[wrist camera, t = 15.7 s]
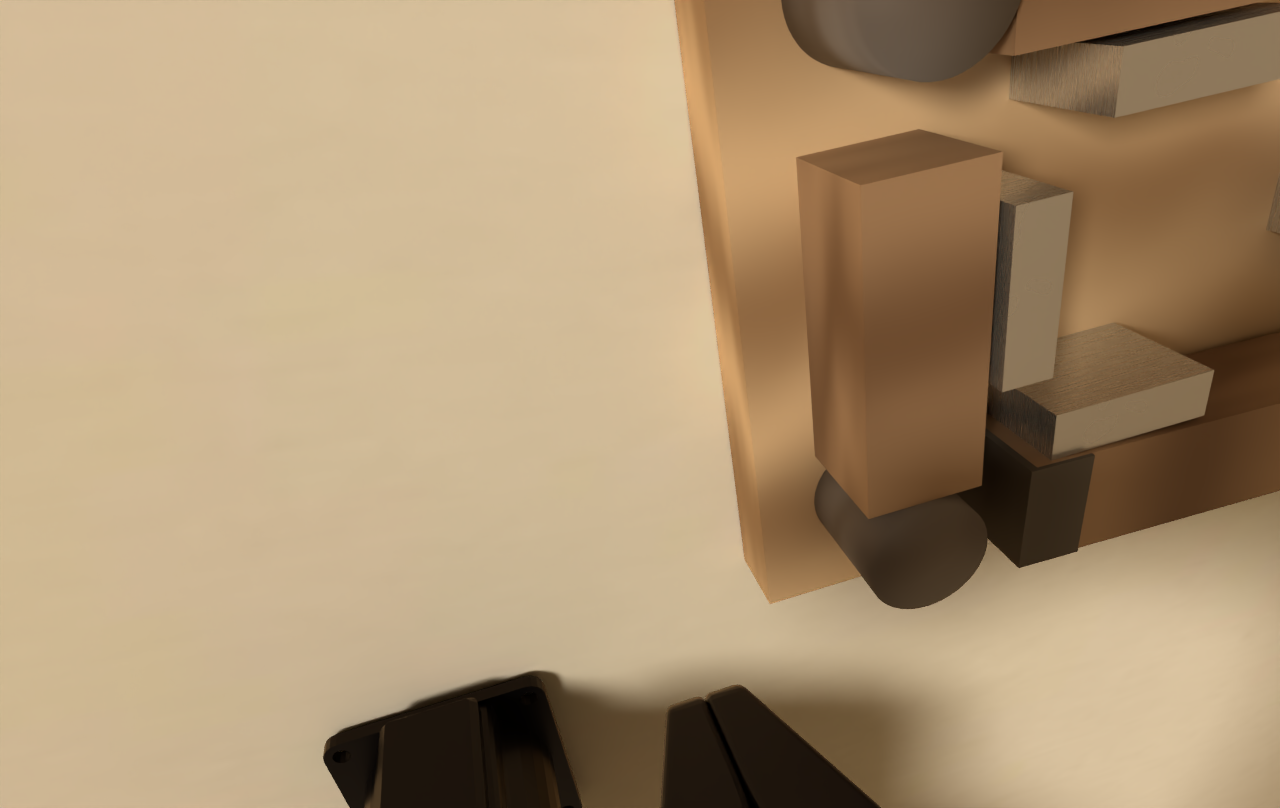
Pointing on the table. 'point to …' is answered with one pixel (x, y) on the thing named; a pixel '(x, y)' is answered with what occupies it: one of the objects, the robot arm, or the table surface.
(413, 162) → the table surface
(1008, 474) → the leg
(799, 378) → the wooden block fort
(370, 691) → the table surface
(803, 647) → the table surface
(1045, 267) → the brackets
